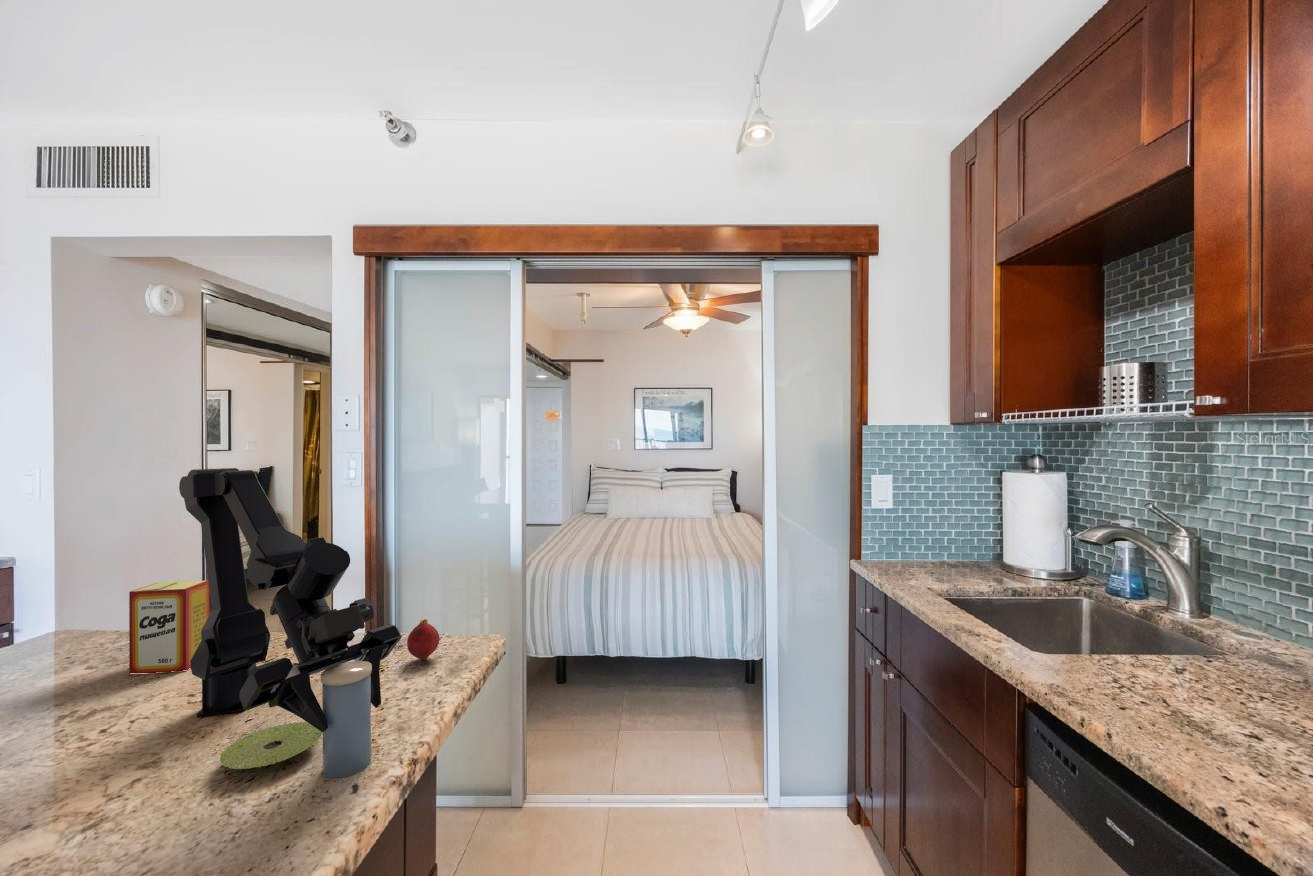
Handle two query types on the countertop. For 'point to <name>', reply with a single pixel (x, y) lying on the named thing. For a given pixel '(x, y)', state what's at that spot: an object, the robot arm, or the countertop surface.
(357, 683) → the canister
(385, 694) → the countertop surface
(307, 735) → the mat
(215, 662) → the robot arm
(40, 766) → the countertop surface
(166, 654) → the baking soda box
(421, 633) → the onion
